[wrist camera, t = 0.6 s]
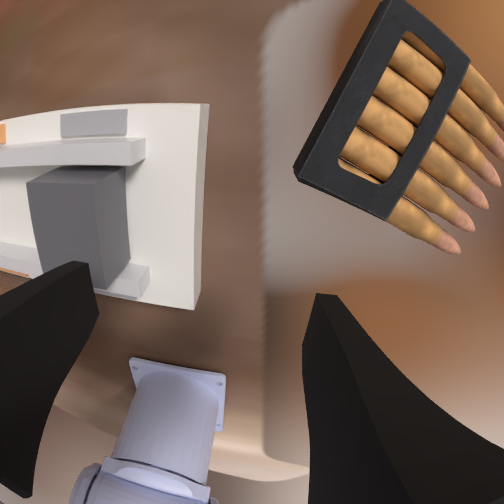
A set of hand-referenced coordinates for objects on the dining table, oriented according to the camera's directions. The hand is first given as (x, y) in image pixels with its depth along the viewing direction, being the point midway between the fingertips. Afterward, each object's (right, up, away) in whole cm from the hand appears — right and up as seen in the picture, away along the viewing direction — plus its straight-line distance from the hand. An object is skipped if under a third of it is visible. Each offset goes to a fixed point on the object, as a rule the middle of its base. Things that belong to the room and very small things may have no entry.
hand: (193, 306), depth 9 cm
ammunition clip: (+6, +9, +3) cm, 11 cm away
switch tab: (-7, +4, +6) cm, 9 cm away
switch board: (-10, +5, +7) cm, 13 cm away
